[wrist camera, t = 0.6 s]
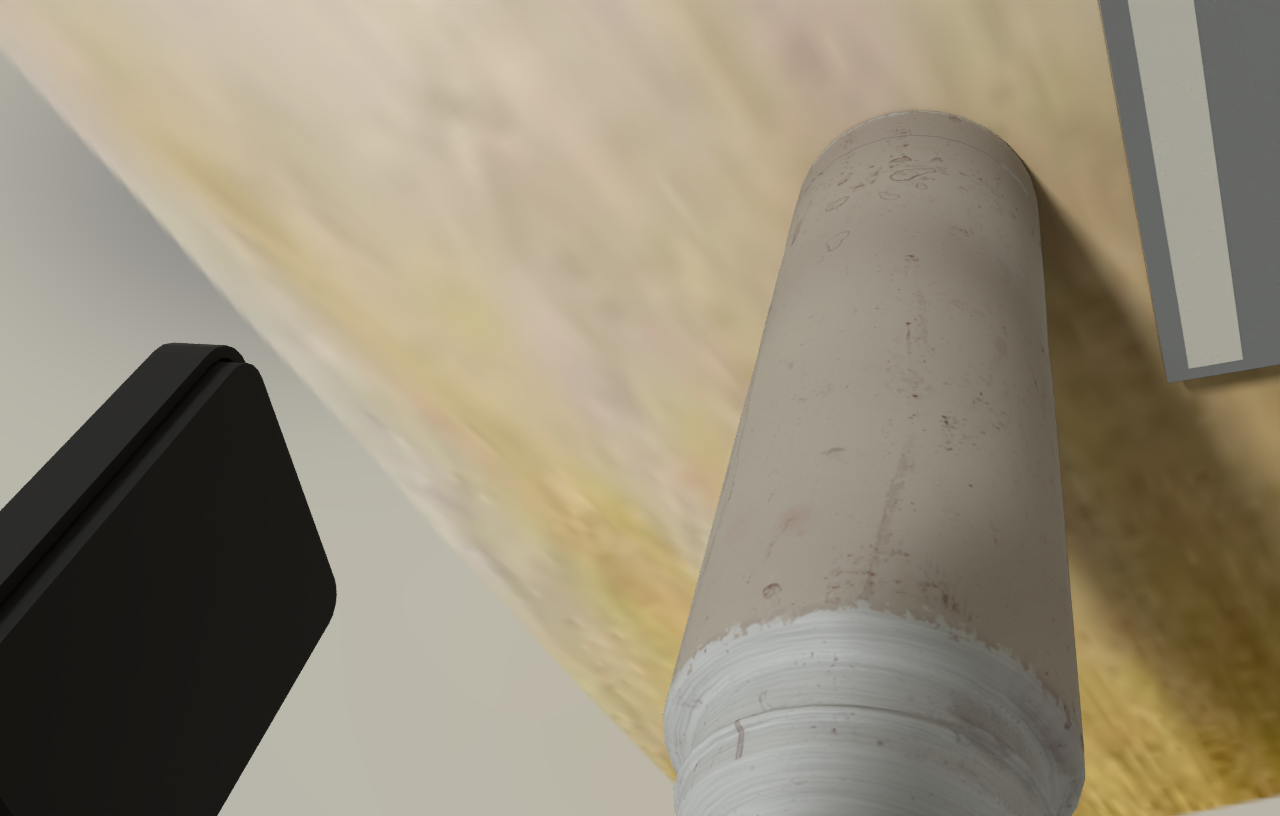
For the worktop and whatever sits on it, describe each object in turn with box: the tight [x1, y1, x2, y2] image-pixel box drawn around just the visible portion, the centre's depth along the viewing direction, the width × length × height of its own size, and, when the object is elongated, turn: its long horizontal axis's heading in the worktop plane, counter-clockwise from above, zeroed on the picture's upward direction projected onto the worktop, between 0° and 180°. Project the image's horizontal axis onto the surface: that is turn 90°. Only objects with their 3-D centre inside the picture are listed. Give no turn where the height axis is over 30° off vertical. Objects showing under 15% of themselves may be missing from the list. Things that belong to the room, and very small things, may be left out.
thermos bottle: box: [663, 111, 1085, 816], centre depth 29 cm, size 8×8×28 cm
